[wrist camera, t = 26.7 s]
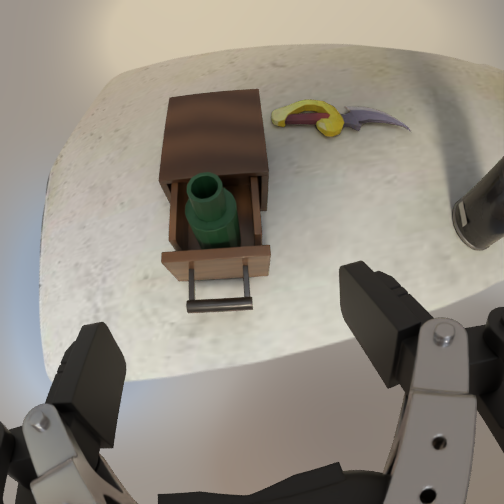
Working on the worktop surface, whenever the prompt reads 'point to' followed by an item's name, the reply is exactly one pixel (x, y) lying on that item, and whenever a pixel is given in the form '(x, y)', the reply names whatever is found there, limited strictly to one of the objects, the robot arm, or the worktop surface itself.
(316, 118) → the knife
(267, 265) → the drawer
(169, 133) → the cabinet
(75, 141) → the worktop surface
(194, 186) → the bottle
